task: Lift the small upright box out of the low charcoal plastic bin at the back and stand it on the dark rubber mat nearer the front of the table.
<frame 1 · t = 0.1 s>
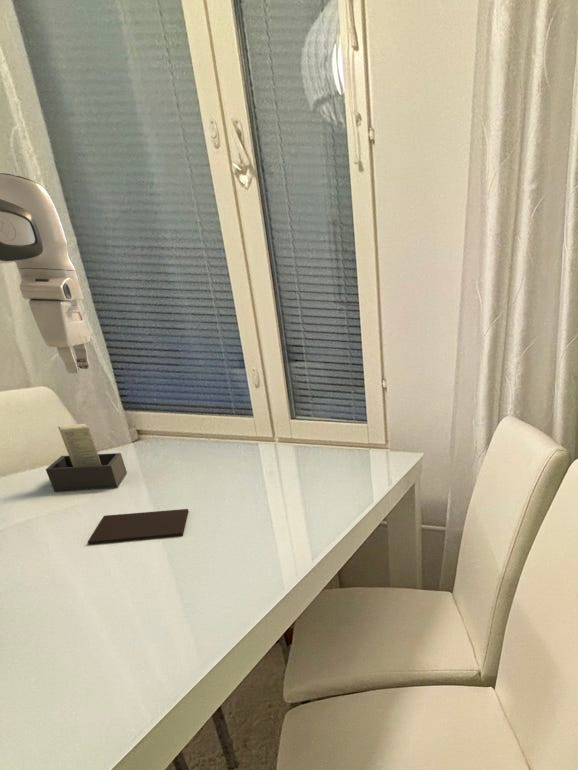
hand: (79, 370, 109), 22 cm above the table, tool pointing down, fingers open, 8 cm apart
mat: (142, 526, 97), on the table
bin: (92, 482, 120), on the table
box: (92, 480, 120), resting on bin
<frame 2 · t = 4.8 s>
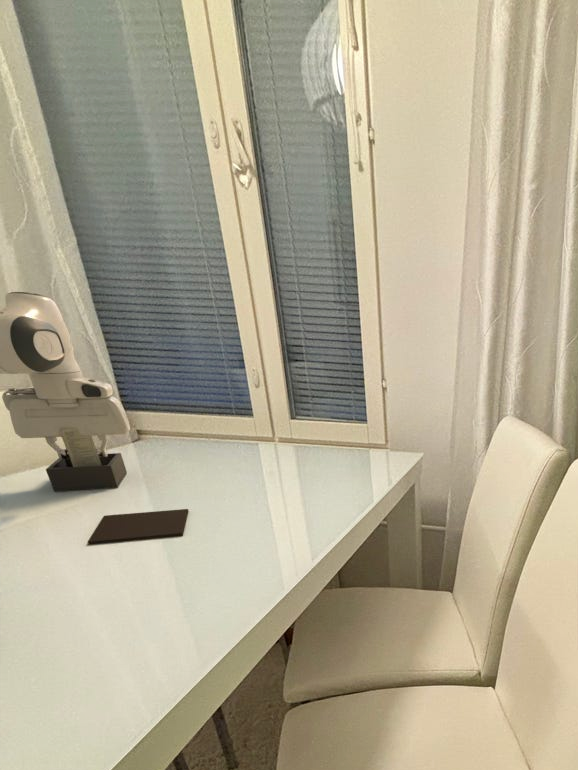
hand: (84, 457, 118), 5 cm above the table, tool pointing down, fingers closed on box, 6 cm apart
box: (91, 480, 120), resting on bin, touching gripper
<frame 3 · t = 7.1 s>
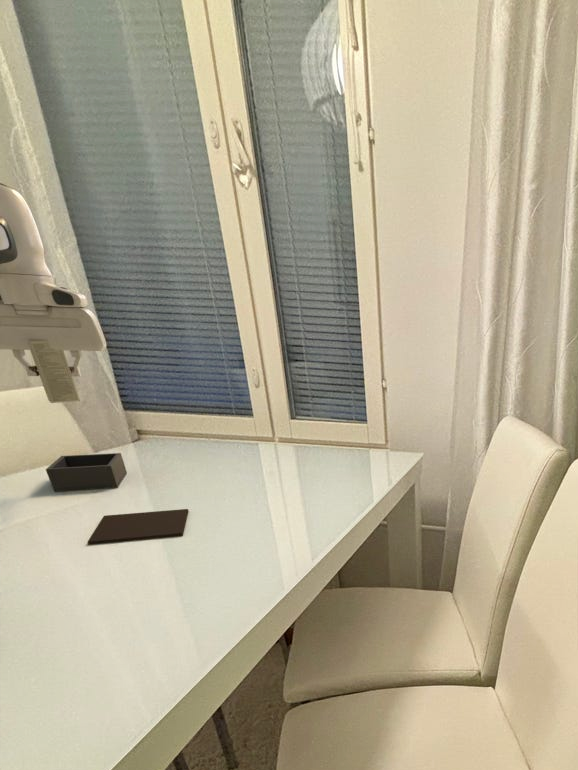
hand: (55, 376, 109), 21 cm above the table, tool pointing down, fingers closed on box, 6 cm apart
box: (64, 402, 111), point 16 cm above the table, touching gripper
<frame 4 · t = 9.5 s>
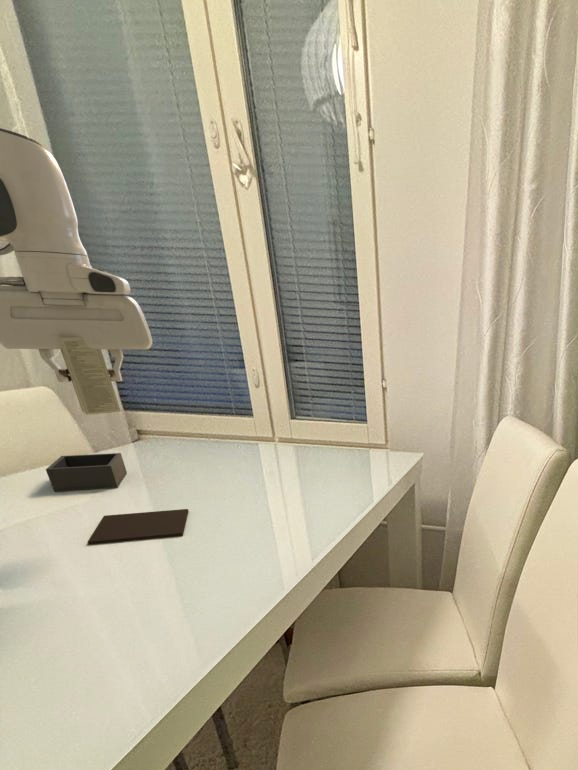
hand: (91, 381, 88), 23 cm above the table, tool pointing down, fingers closed on box, 6 cm apart
box: (101, 413, 90), point 18 cm above the table, touching gripper
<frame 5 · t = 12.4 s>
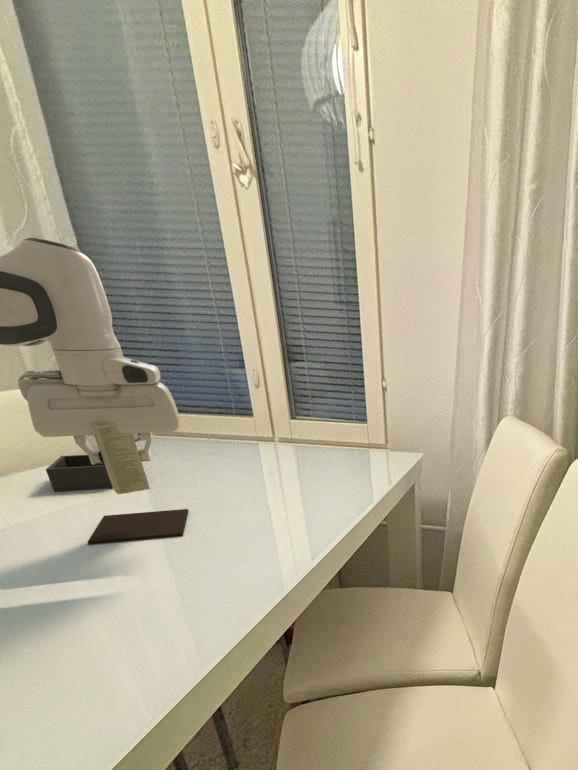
hand: (122, 462, 91), 11 cm above the table, tool pointing down, fingers closed on box, 6 cm apart
box: (131, 490, 94), point 6 cm above the table, touching gripper
when the fingers open (5 cm above the table, at t = 14.4 s): box stays where it is, resting on mat.
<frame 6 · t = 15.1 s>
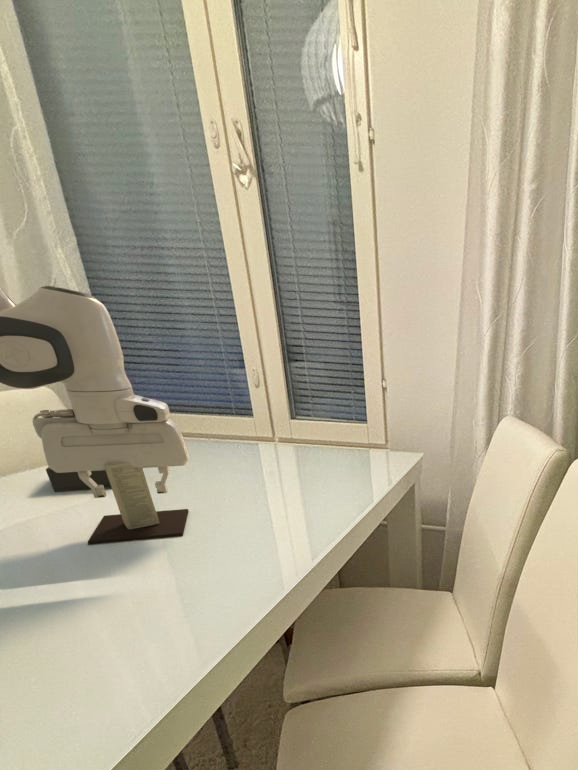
hand: (132, 494, 94), 6 cm above the table, tool pointing down, fingers open, 8 cm apart
box: (141, 525, 97), resting on mat
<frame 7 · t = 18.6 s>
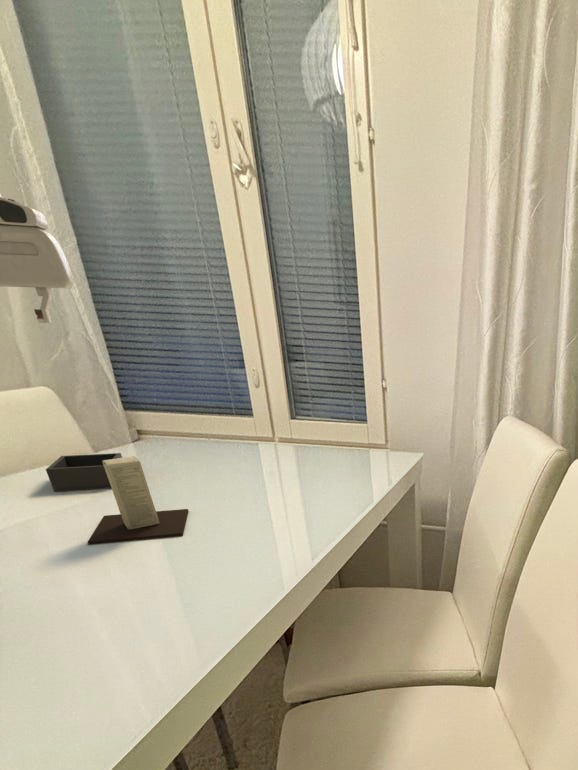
hand: (9, 322, 84), 31 cm above the table, tool pointing down, fingers open, 8 cm apart
nothing on the table moved.
at the end: box inside the target area on the mat (0.1 cm from its centre), point 0.3 cm above the mat's base; box tilted 0° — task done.
